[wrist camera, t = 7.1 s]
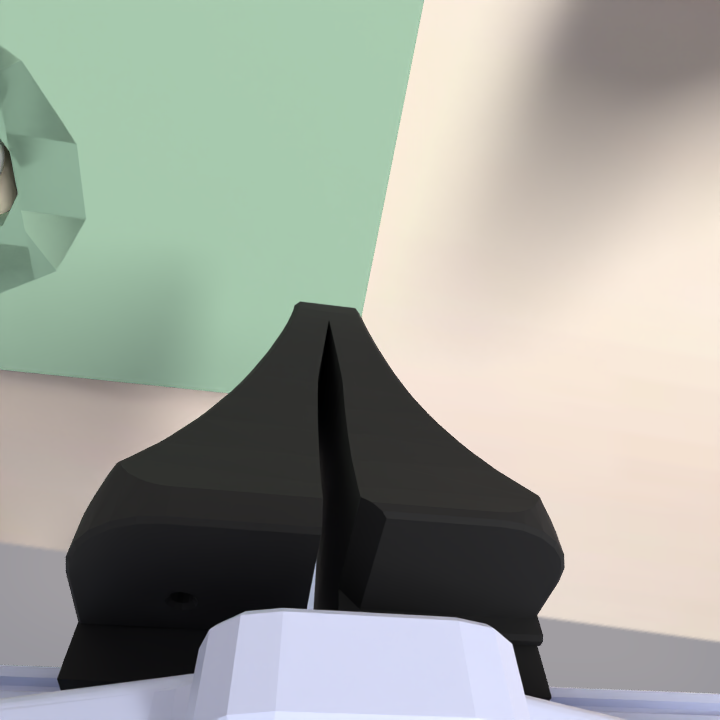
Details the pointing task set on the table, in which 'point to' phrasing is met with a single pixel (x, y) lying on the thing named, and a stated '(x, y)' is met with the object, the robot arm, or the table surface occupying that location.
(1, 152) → the ball
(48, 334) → the deck
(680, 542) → the table surface
